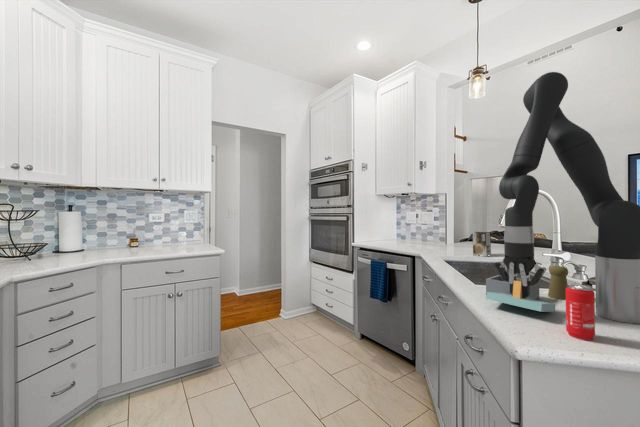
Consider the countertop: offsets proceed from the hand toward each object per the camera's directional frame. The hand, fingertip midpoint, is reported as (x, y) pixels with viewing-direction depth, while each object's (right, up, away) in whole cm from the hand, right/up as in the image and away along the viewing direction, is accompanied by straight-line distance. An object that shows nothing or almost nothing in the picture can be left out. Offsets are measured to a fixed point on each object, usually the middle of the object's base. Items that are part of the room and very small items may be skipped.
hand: (519, 296), depth 87 cm
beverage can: (+2, -5, -18) cm, 19 cm away
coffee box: (+48, -3, +103) cm, 113 cm away
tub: (+7, -4, +13) cm, 15 cm away
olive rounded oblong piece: (+22, -4, +12) cm, 26 cm away
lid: (0, -3, 0) cm, 3 cm away
